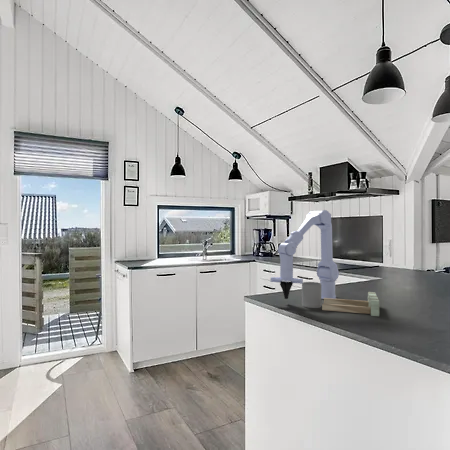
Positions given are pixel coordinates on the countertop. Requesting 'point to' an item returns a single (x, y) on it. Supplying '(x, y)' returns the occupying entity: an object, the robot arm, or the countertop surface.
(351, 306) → the wooden tray
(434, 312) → the countertop surface
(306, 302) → the cup
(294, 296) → the countertop surface
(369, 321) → the countertop surface
